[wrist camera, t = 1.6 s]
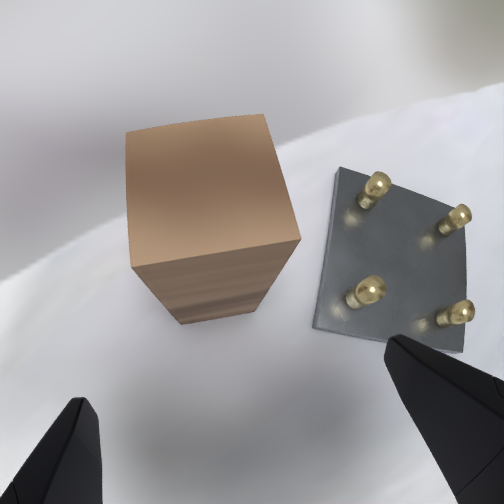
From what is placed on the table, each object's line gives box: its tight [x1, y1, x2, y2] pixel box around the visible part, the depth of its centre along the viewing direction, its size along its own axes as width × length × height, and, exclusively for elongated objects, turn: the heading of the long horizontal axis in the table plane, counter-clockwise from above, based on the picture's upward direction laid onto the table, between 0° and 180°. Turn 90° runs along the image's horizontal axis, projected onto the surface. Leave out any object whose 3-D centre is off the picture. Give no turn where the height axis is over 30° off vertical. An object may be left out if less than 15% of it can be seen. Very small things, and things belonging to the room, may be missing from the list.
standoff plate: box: [313, 167, 475, 354], centre depth 22 cm, size 13×13×4 cm
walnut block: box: [126, 114, 301, 325], centre depth 16 cm, size 5×5×13 cm
